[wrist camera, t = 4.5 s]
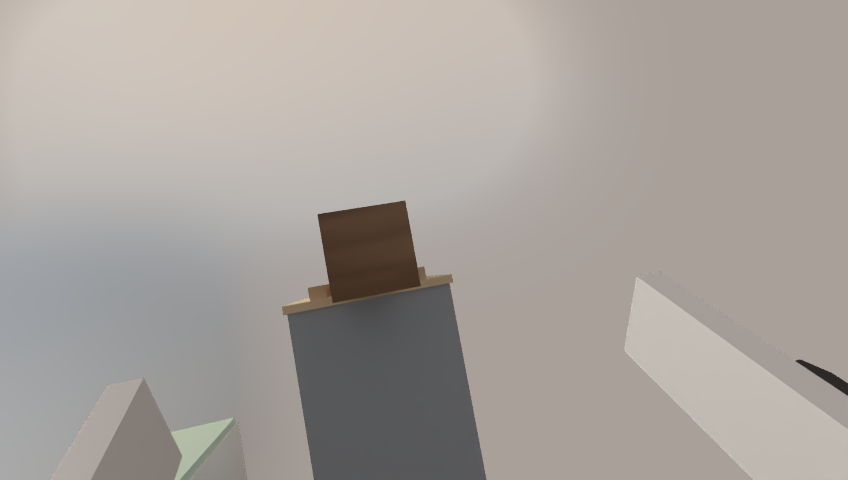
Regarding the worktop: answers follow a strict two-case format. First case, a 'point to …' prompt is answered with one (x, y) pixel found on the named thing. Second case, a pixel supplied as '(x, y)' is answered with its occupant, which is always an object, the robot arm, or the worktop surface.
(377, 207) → the walnut block
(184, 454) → the felt block
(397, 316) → the pillar
